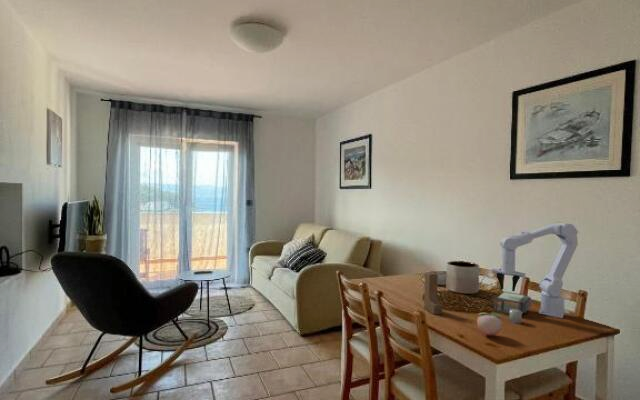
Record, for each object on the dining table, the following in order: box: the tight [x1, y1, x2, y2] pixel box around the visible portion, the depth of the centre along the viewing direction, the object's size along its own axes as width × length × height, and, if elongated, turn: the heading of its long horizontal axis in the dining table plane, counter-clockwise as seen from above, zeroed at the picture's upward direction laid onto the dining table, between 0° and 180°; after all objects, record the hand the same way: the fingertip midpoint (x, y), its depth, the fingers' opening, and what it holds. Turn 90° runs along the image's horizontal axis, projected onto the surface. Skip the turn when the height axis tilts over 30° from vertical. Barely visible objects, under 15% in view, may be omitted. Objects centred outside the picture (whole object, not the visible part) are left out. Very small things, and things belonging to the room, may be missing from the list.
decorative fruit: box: [476, 310, 504, 337], centre depth 141 cm, size 9×8×10 cm
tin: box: [430, 270, 447, 286], centre depth 219 cm, size 15×3×8 cm, turn 84°
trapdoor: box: [497, 291, 532, 313], centre depth 171 cm, size 12×12×5 cm
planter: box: [445, 260, 480, 295], centre depth 207 cm, size 18×18×16 cm
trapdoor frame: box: [493, 290, 528, 316], centre depth 172 cm, size 11×15×7 cm
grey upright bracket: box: [423, 271, 443, 315], centre depth 170 cm, size 9×4×18 cm, turn 14°
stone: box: [508, 309, 523, 325], centre depth 158 cm, size 5×5×5 cm
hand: (507, 289), depth 172 cm, fingers open, 4 cm apart
